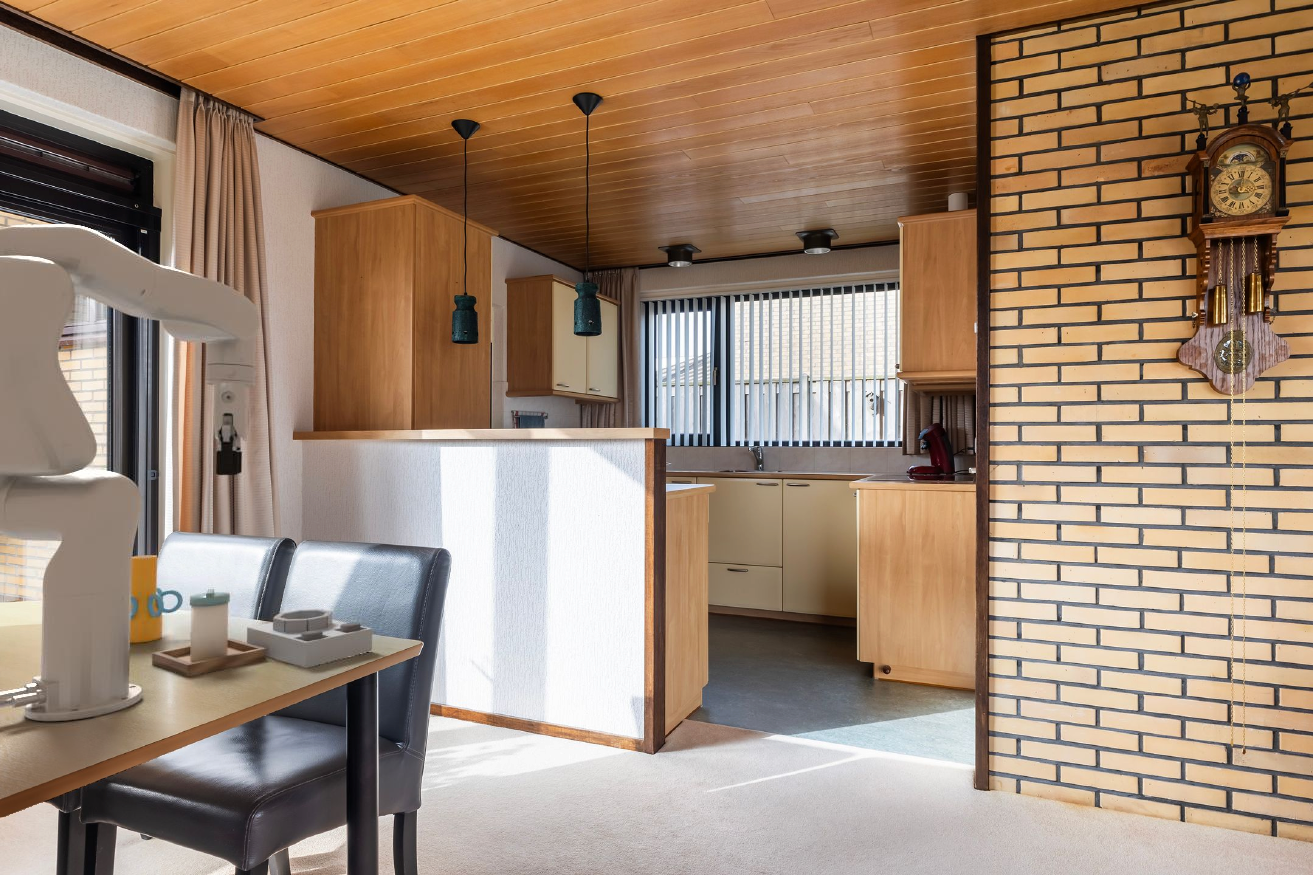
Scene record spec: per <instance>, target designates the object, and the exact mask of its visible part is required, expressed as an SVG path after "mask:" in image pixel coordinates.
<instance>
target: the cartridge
mask: <svg viewBox="0 0 1313 875" xmlns="http://www.w3.org/2000/svg"><path fill="white" fill-rule="evenodd" d="M230 600H231V593H229V592H226V591H225V592H224V591H222V592H221V591H217V592H216V591H215V588H209V589H208V590H207V591H206V592H204V593H198V594H197V593H196V594H193V595H190V596H189V606H190V607H191V609H190V645H189V646H190V661H191V662H198V661H203V660H208V659H213V658H217V657H222V656H227V647H228V638H229V636H228V635H229V633H228V632H229V603H230Z"/></svg>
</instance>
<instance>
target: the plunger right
mask: <svg viewBox="0 0 1313 875" xmlns="http://www.w3.org/2000/svg"><path fill="white" fill-rule="evenodd" d="M361 626H362V625H361V623H360V622H346V623H345V624H342V625H340V632H344V633H350V632H354V631H359V630H360V628H361Z"/></svg>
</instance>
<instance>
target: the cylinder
mask: <svg viewBox="0 0 1313 875" xmlns="http://www.w3.org/2000/svg"><path fill="white" fill-rule="evenodd" d="M157 578H158V555H156V554H155V555H152V554H151V555H149V554H148V555H146V554H145V555H135V556H132V569H131V613H130V644H138V643H139V644H140V643H147V642H153V641H157V640H159V639H161V638H162V637H163V613H165V614H172V613H175V612H176V611H178V610H179V609H180V608H181V607H182V606H183V603H184V602H183V601H184V599H183V595H182V594H181V593H180V592H179V591H177V590H175V589H167V590H166V589H165V590H164V591H163V590H162V589H161V588H160V587H157V583H158V581H157V580H158V579H157ZM167 595H173V596H175V597H176V599H177V603H176V605H174V606H173V607H171V608H165V603H164V602H165V601H164V597H165V596H167Z"/></svg>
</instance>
